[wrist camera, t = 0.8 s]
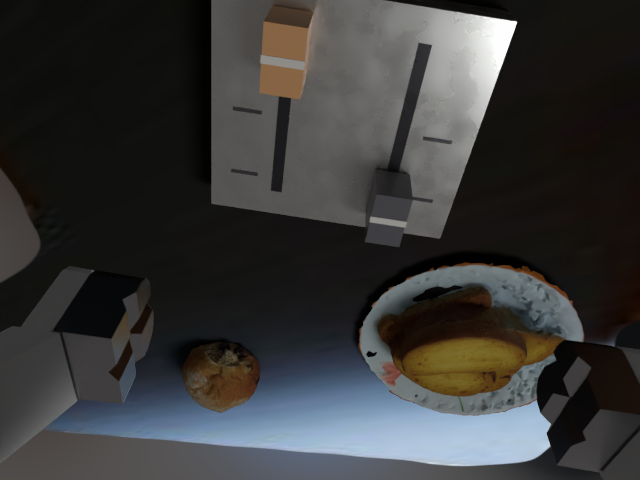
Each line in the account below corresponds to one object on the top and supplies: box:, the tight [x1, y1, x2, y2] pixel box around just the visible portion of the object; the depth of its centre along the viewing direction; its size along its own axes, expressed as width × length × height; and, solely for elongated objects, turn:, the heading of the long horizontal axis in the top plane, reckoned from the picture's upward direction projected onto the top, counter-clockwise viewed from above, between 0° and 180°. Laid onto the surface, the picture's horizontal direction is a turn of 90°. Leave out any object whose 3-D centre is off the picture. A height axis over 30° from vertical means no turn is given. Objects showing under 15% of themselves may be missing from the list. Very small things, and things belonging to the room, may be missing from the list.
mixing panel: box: [211, 0, 517, 238], centre depth 44 cm, size 20×22×3 cm
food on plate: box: [358, 262, 584, 415], centre depth 59 cm, size 25×25×7 cm
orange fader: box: [259, 6, 314, 99], centre depth 37 cm, size 5×3×4 cm, turn 173°
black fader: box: [365, 169, 413, 247], centre depth 45 cm, size 5×3×4 cm, turn 172°
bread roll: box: [182, 342, 260, 413], centre depth 67 cm, size 10×10×8 cm
